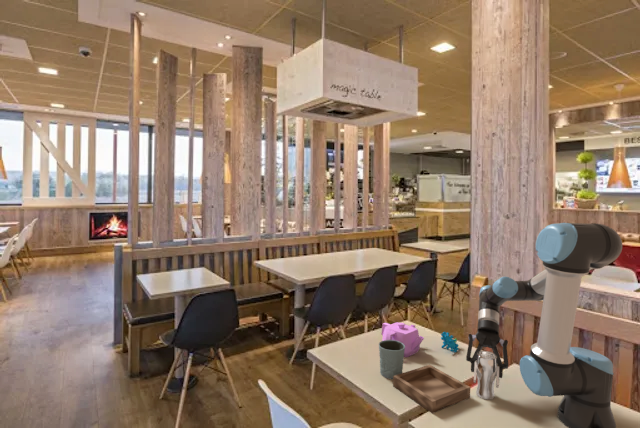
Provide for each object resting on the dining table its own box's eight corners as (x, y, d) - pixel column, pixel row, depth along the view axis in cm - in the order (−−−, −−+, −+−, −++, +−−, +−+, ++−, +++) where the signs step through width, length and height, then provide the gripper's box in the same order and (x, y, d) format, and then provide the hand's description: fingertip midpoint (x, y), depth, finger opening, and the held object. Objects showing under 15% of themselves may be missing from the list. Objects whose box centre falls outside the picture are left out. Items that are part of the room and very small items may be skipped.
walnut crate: (469, 397, 131) (470, 387, 131) (432, 413, 122) (432, 401, 121) (429, 374, 148) (429, 364, 147) (393, 386, 138) (393, 376, 138)
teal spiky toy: (451, 352, 164) (439, 331, 170) (441, 358, 168) (430, 337, 173) (464, 349, 171) (452, 329, 177) (455, 355, 174) (444, 335, 180)
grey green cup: (407, 372, 149) (408, 343, 148) (398, 383, 140) (400, 352, 140) (383, 365, 154) (384, 337, 153) (374, 376, 146) (374, 346, 145)
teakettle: (379, 341, 179) (380, 316, 178) (415, 342, 178) (416, 317, 178) (384, 357, 162) (385, 330, 161) (423, 358, 162) (425, 331, 161)
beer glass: (483, 401, 129) (485, 360, 128) (470, 391, 136) (472, 351, 135) (500, 399, 131) (502, 357, 130) (486, 388, 138) (488, 349, 137)
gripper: (515, 332, 142) (516, 394, 128) (461, 323, 150) (456, 381, 136) (517, 323, 137) (518, 386, 123) (461, 314, 145) (456, 373, 131)
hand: (485, 383), depth 130 cm, fingers closed on beer glass, 7 cm apart
